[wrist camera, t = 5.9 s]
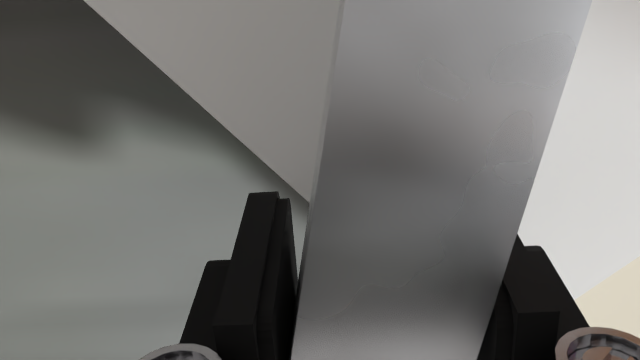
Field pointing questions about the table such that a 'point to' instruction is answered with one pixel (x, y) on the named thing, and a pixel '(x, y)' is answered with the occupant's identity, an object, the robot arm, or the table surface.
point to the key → (425, 171)
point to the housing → (310, 91)
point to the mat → (615, 301)
